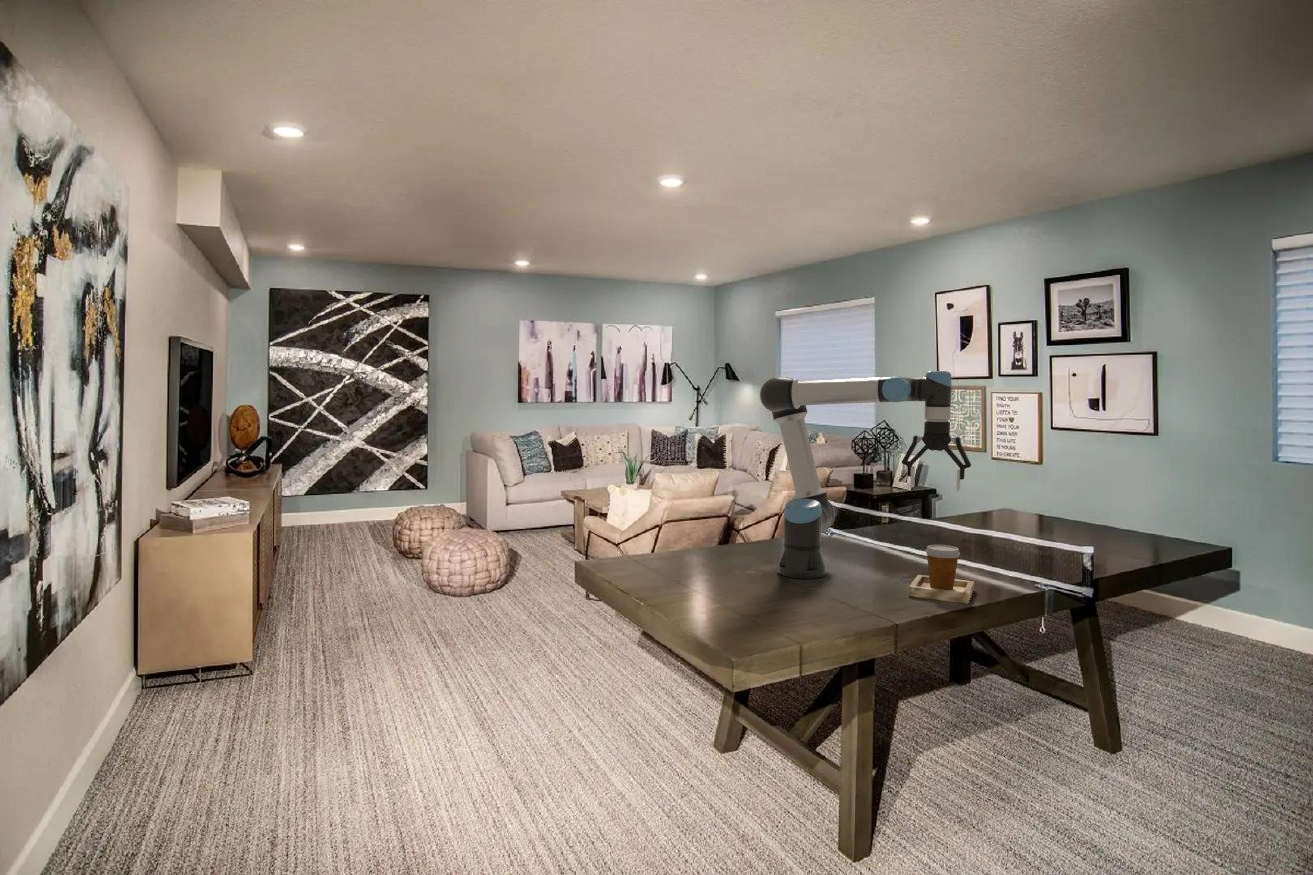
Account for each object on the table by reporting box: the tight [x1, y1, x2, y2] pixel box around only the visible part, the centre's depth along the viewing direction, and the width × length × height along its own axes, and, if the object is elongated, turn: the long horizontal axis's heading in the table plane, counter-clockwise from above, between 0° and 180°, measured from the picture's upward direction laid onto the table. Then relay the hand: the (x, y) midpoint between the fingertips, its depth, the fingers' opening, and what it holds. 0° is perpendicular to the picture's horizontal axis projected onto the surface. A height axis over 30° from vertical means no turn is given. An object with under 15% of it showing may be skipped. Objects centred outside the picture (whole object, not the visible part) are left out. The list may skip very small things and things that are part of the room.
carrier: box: [908, 574, 975, 605], centre depth 218 cm, size 16×16×3 cm
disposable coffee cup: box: [925, 544, 961, 590], centre depth 218 cm, size 10×10×12 cm
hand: (935, 488), depth 232 cm, fingers open, 13 cm apart
